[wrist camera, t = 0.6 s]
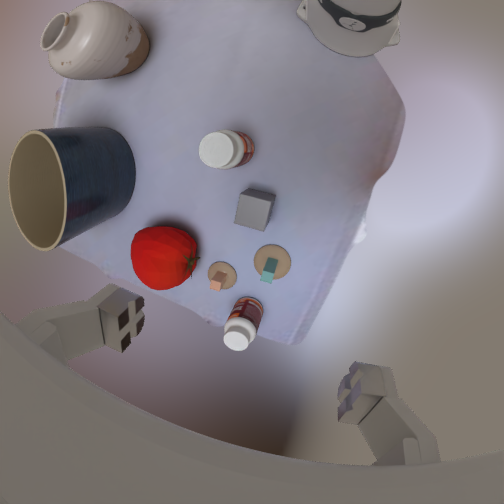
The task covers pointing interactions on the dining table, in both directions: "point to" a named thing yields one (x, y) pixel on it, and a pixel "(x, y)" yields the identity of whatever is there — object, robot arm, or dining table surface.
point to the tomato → (163, 256)
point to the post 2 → (272, 262)
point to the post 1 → (221, 276)
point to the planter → (68, 182)
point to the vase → (94, 42)
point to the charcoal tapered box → (254, 209)
